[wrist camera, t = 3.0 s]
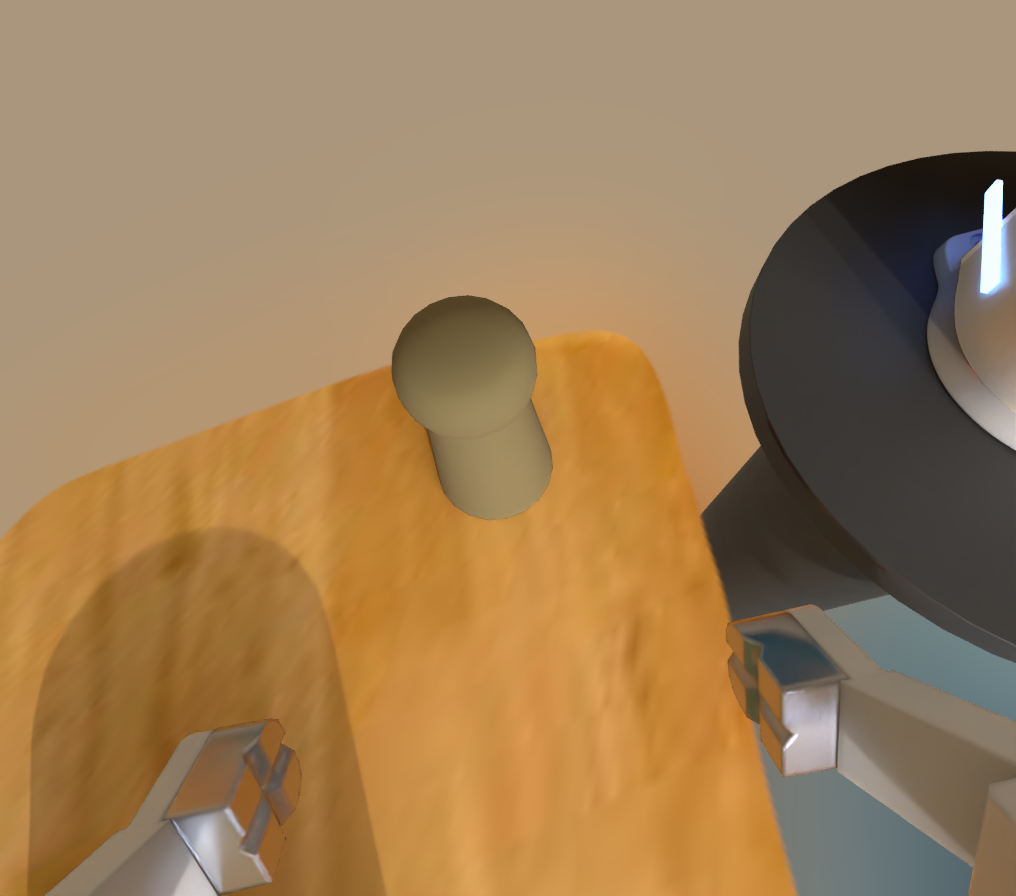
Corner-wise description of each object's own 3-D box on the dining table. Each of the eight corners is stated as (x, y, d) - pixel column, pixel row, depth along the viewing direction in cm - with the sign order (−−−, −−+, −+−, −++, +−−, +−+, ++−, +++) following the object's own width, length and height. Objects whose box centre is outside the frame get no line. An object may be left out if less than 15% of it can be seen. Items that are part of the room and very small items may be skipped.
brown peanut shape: (576, 457, 27) (586, 326, 17) (498, 544, 25) (457, 458, 15) (492, 393, 29) (455, 241, 19) (414, 470, 27) (330, 351, 17)
